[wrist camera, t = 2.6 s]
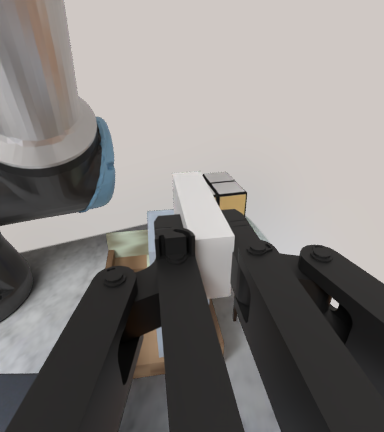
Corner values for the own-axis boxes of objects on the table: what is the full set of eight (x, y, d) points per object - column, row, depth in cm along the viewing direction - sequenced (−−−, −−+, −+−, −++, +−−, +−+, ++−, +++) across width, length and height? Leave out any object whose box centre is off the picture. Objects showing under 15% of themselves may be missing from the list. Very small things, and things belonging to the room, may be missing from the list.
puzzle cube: (176, 223, 56) (174, 175, 52) (224, 217, 58) (227, 171, 54) (187, 252, 48) (186, 198, 43) (243, 244, 50) (248, 191, 45)
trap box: (95, 384, 28) (83, 344, 25) (112, 265, 45) (106, 233, 42) (222, 365, 30) (225, 325, 27) (193, 257, 46) (193, 225, 44)
